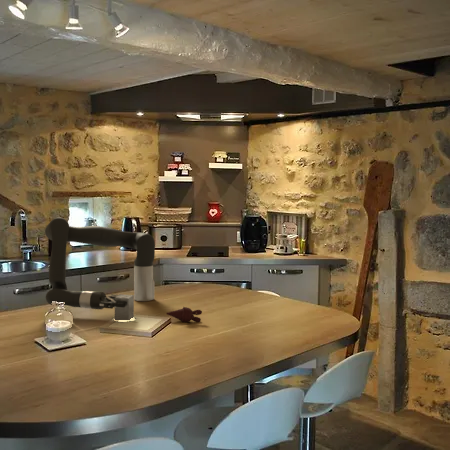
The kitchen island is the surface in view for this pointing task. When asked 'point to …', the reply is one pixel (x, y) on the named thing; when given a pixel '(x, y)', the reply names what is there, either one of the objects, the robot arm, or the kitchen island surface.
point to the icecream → (185, 314)
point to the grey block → (126, 311)
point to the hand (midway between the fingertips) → (128, 302)
